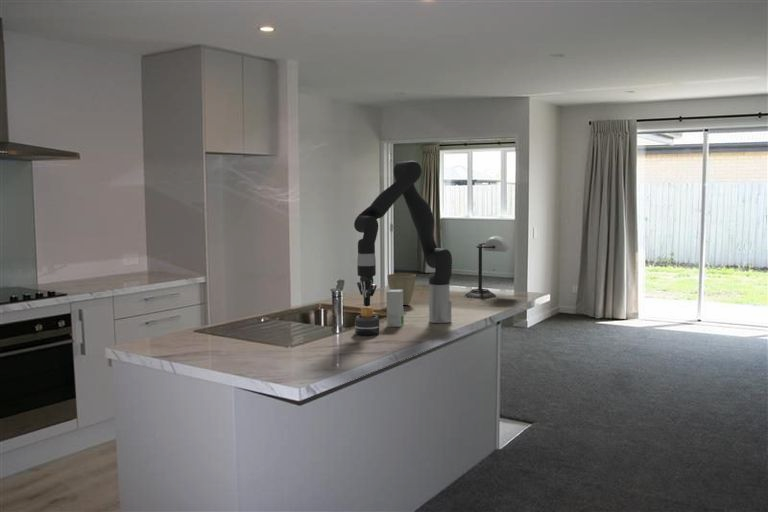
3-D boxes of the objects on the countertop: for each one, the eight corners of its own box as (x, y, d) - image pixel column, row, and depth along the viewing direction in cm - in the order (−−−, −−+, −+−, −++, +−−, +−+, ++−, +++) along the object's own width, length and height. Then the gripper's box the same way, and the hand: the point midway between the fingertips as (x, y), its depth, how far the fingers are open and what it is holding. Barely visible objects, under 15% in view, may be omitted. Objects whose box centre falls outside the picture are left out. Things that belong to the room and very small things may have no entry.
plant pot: (421, 305, 342) (421, 275, 340) (398, 308, 333) (398, 277, 332) (404, 302, 354) (404, 272, 352) (382, 304, 346) (381, 274, 344)
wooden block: (369, 317, 276) (369, 306, 275) (375, 319, 271) (375, 307, 271) (358, 318, 273) (358, 307, 273) (365, 321, 269) (364, 308, 268)
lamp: (505, 300, 356) (505, 238, 353) (460, 298, 363) (460, 237, 360) (509, 293, 381) (510, 235, 378) (468, 292, 388) (468, 234, 385)
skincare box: (400, 327, 285) (400, 291, 284) (385, 326, 287) (385, 291, 285) (404, 323, 294) (403, 289, 292) (389, 323, 295) (389, 288, 293)
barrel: (371, 330, 280) (371, 313, 279) (384, 334, 271) (383, 317, 270) (350, 332, 275) (350, 315, 274) (362, 337, 266) (362, 319, 265)
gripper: (382, 265, 266) (382, 307, 268) (366, 262, 278) (367, 303, 279) (366, 266, 263) (366, 309, 264) (350, 263, 274) (351, 304, 276)
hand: (366, 305), depth 272 cm, fingers closed
